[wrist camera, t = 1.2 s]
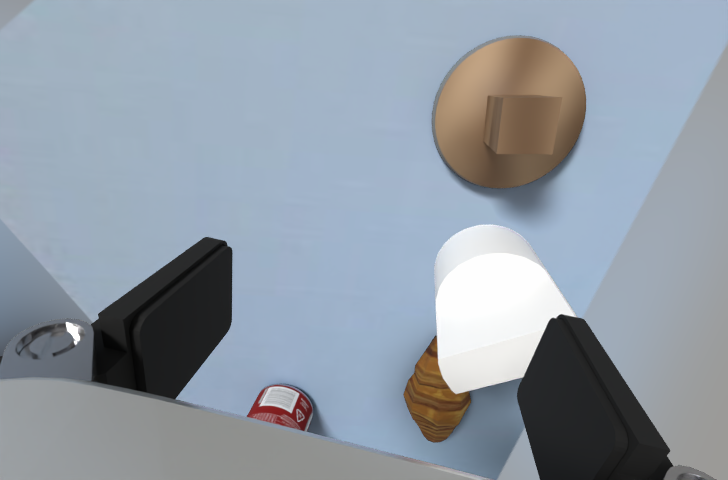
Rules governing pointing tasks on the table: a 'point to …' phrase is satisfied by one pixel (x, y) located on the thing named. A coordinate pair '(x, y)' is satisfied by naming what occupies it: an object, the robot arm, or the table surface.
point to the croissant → (434, 398)
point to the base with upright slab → (491, 306)
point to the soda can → (283, 407)
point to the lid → (510, 113)
